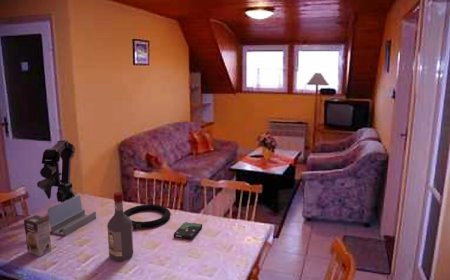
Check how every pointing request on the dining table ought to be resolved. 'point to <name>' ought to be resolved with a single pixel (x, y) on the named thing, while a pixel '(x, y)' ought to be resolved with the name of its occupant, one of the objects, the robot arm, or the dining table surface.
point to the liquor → (120, 232)
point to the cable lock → (148, 223)
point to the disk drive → (188, 231)
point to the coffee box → (37, 235)
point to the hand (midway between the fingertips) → (56, 199)
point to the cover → (64, 210)
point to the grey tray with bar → (72, 223)
